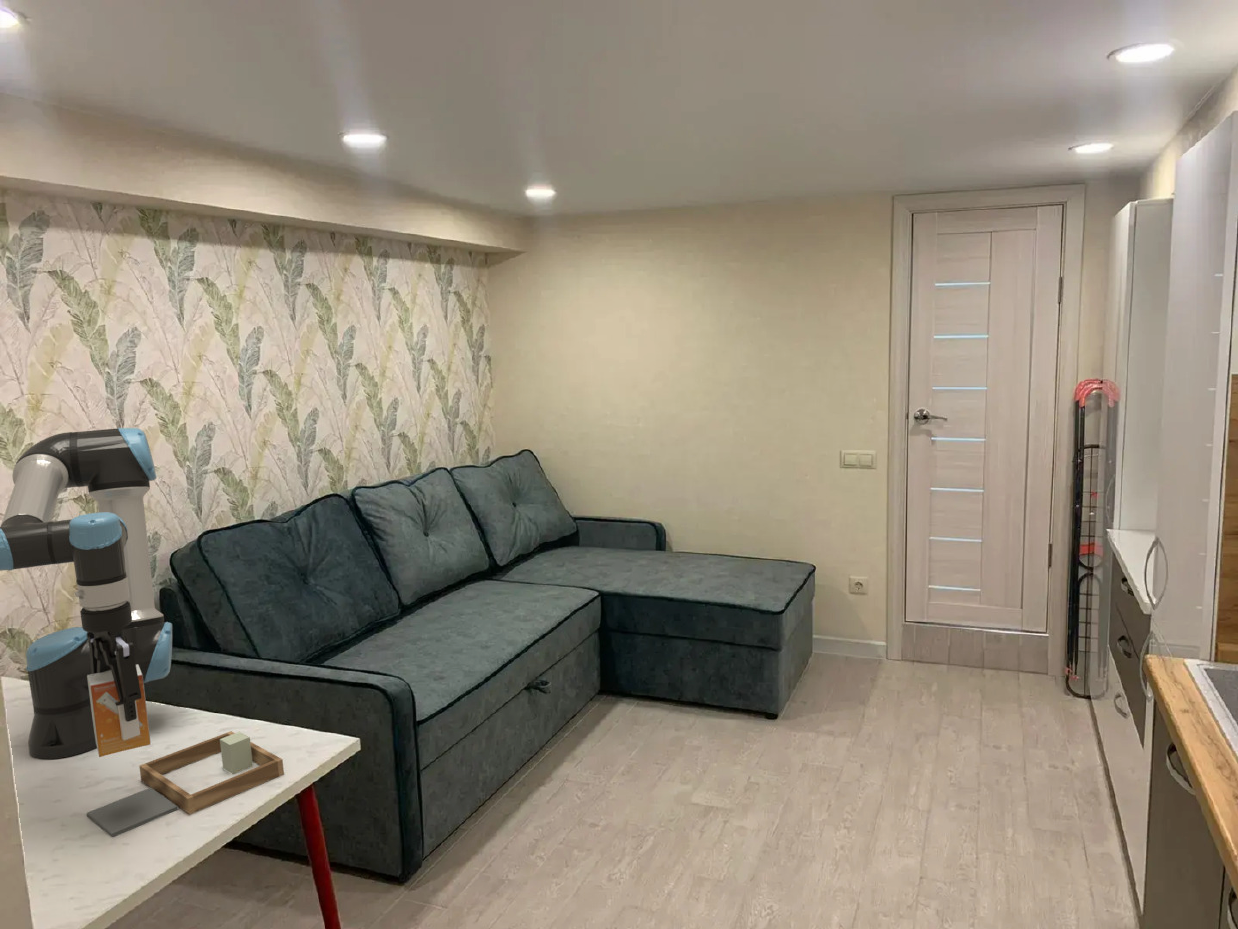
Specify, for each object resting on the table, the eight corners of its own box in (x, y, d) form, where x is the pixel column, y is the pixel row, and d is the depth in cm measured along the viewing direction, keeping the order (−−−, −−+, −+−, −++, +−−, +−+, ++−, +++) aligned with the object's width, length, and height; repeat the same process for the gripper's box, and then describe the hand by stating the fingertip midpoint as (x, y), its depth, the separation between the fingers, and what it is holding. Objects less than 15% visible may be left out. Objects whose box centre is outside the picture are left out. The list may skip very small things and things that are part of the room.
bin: (141, 780, 175) (139, 765, 175) (232, 745, 189) (231, 731, 188) (189, 814, 162) (187, 798, 162) (283, 774, 176) (282, 759, 175)
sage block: (222, 768, 179) (219, 739, 178) (242, 760, 182) (239, 731, 181) (233, 774, 177) (229, 745, 176) (252, 766, 179) (249, 737, 178)
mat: (87, 816, 163) (86, 812, 163) (151, 790, 171) (150, 787, 171) (112, 837, 156) (111, 834, 156) (177, 809, 164) (177, 806, 164)
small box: (99, 758, 157) (89, 685, 155) (95, 745, 162) (86, 674, 160) (151, 745, 161) (142, 673, 159) (147, 732, 166) (138, 663, 164)
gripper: (59, 599, 161) (76, 723, 165) (105, 621, 148) (122, 755, 152) (104, 589, 167) (120, 709, 170) (153, 609, 154) (169, 738, 157)
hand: (121, 730), depth 161 cm, fingers closed on small box, 7 cm apart
